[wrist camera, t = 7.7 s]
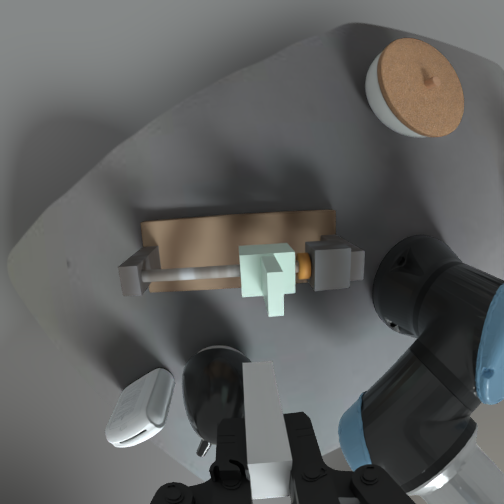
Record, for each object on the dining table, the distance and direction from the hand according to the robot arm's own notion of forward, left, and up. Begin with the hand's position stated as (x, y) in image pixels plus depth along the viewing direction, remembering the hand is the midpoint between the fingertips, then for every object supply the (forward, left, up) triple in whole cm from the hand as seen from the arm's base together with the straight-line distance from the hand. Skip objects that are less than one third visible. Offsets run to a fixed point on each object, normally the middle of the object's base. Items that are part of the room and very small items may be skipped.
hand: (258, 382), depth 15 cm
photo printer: (+16, +20, -25) cm, 36 cm away
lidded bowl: (-22, -21, -25) cm, 39 cm away
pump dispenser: (+4, +16, -25) cm, 30 cm away
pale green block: (-2, -1, -18) cm, 18 cm away
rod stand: (0, -1, -25) cm, 25 cm away
